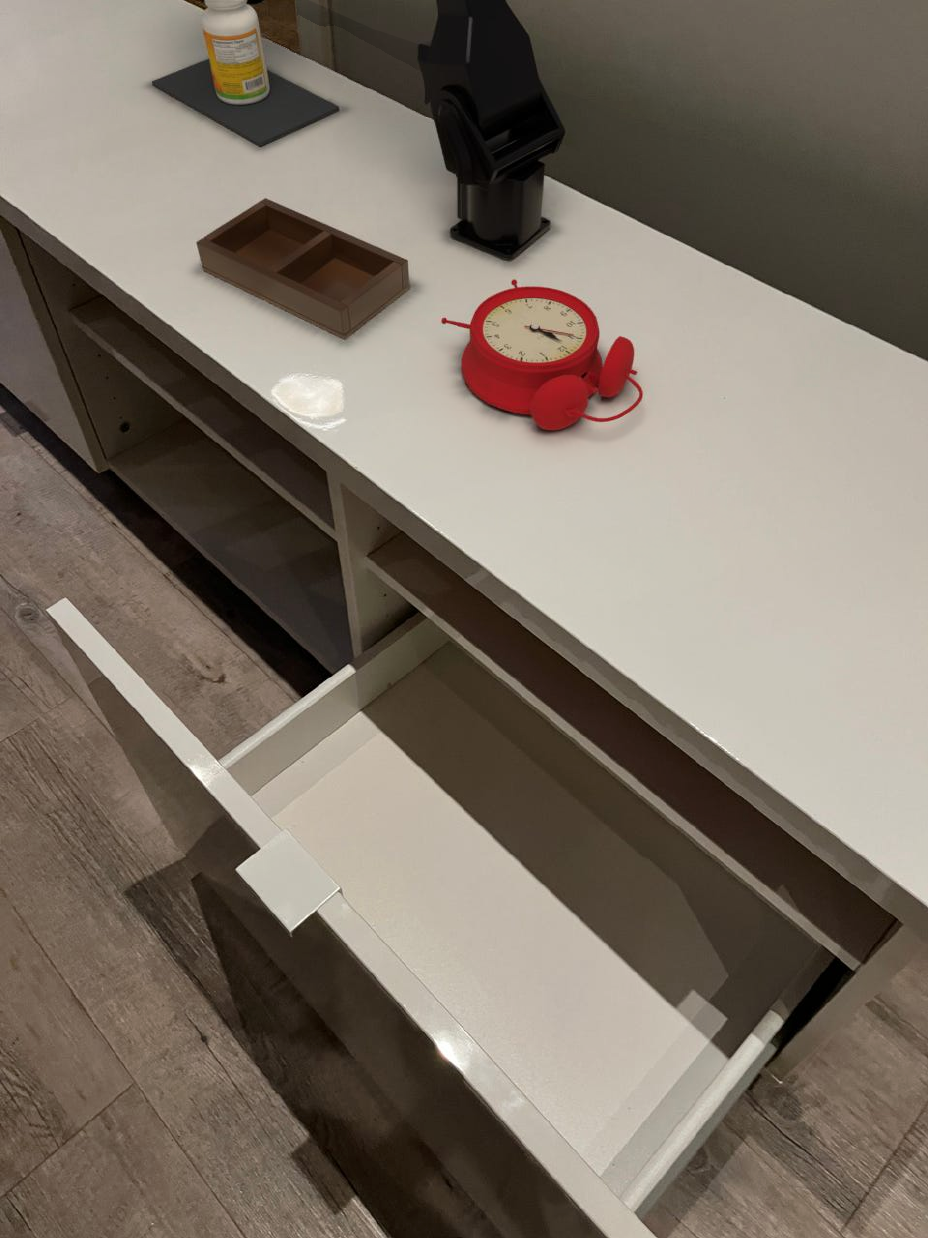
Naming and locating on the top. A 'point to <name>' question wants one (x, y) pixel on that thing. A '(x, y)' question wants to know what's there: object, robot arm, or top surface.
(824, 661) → the top surface
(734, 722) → the top surface
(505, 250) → the robot arm
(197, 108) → the mat
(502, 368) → the alarm clock
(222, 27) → the supplement bottle
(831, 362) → the top surface
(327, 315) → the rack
